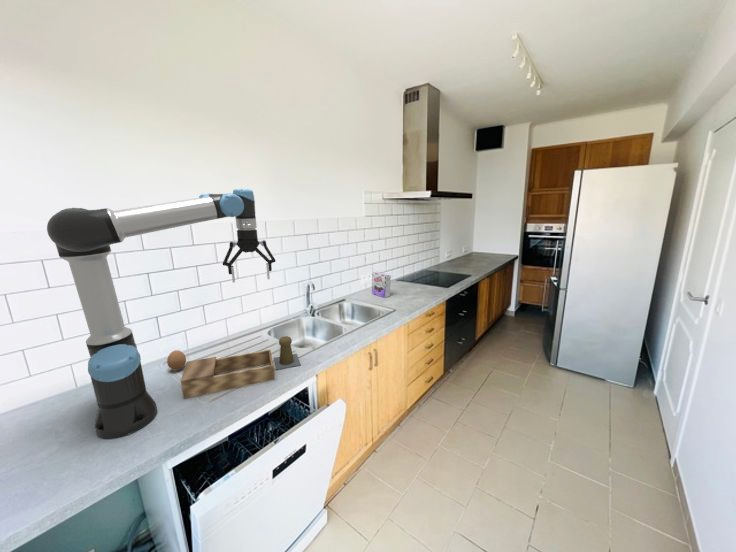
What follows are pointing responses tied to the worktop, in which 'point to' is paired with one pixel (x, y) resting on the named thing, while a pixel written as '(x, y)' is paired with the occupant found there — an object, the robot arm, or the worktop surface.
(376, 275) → the candy box
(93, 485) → the worktop surface
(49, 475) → the worktop surface
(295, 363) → the slate mat
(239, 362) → the crate
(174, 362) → the egg
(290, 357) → the cork
